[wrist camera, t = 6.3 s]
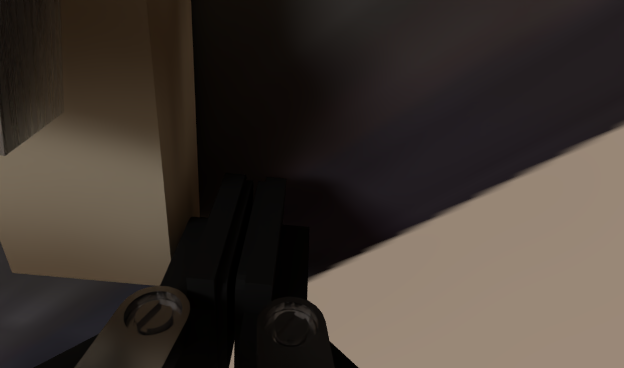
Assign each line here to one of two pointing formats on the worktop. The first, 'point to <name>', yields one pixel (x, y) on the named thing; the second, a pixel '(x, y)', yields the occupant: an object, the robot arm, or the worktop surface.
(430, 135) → the worktop surface
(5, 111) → the hook
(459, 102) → the worktop surface
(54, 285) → the worktop surface
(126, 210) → the pivot link
